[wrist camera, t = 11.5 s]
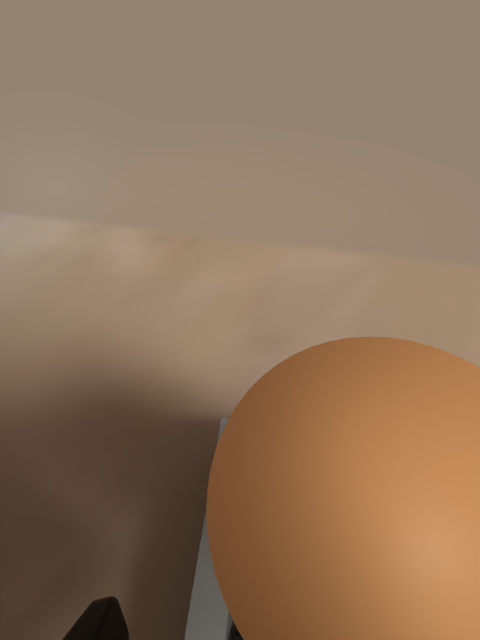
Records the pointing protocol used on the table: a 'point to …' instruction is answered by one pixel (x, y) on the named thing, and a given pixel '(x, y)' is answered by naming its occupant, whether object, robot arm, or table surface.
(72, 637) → the robot arm
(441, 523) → the pin
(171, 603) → the table surface
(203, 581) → the socket block
